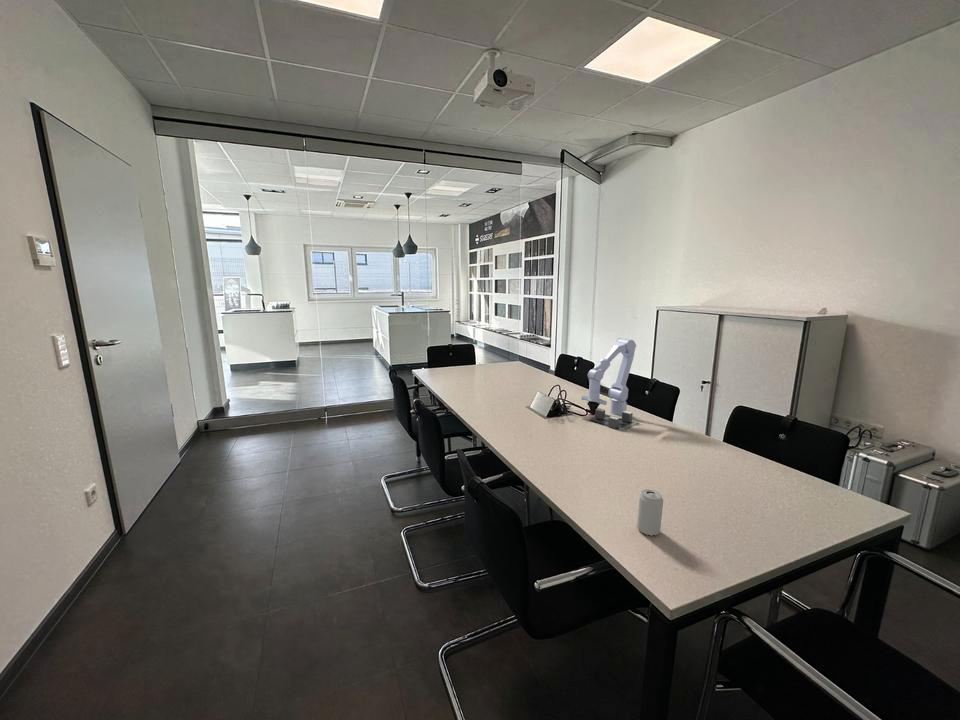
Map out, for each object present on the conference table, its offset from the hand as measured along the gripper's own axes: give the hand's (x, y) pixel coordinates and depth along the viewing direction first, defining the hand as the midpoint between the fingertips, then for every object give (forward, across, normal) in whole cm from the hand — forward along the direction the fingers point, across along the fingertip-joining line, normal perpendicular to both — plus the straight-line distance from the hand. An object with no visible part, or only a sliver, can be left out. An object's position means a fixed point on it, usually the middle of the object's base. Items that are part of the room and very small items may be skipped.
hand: (592, 414), depth 218 cm
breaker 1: (+1, +16, -7) cm, 18 cm away
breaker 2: (+1, +16, +7) cm, 18 cm away
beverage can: (+3, +68, -78) cm, 103 cm away
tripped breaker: (+1, +4, 0) cm, 4 cm away
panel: (+3, +10, 0) cm, 11 cm away
